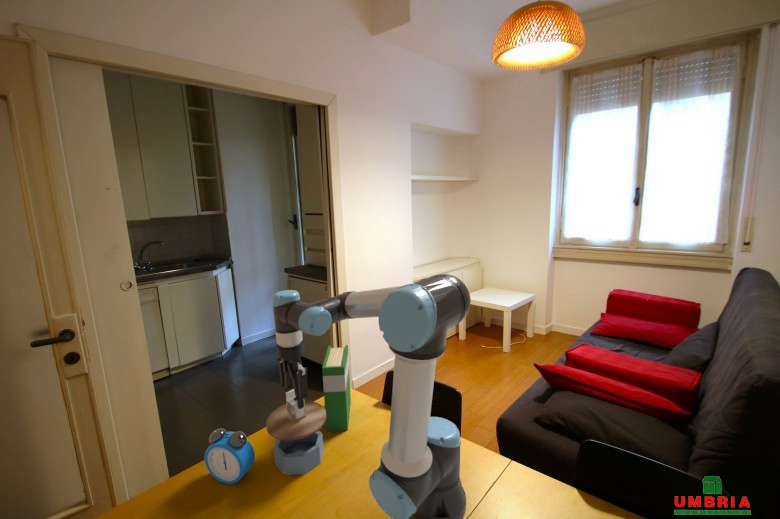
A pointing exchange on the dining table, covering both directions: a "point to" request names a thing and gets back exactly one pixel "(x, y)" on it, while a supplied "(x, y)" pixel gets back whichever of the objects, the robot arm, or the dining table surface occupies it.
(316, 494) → the dining table surface
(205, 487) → the dining table surface
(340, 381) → the hardback book
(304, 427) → the lid
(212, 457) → the alarm clock
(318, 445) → the bowl
